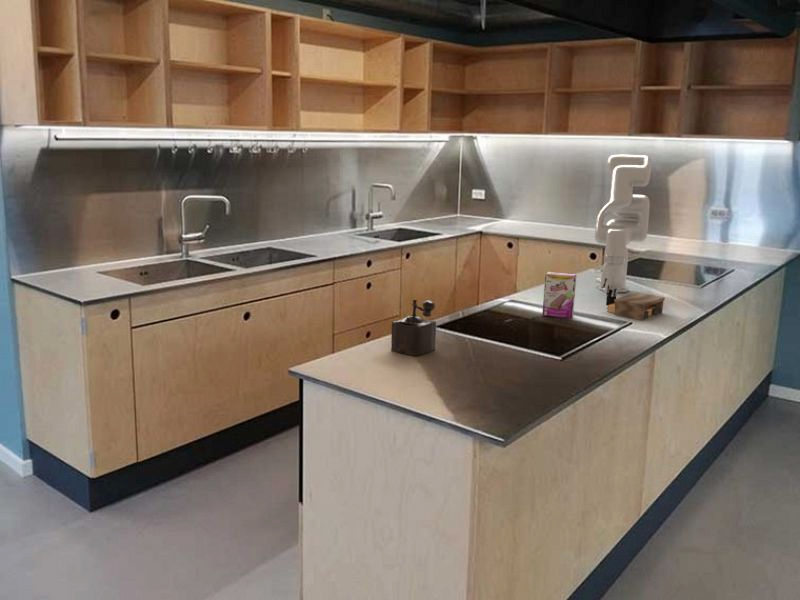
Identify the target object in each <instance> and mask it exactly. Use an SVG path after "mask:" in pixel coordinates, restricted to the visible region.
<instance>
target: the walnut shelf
mask: <svg viewBox="0 0 800 600" xmlns="http://www.w3.org/2000/svg"><path fill="white" fill-rule="evenodd" d="M665 299H666V297H664V296H659V295H653V294H649V293H648V294H647V293H641V292H635V293H634V292H633V293H630V294H628V295H627V294H626V295H624V296H621V297H618V298H617V297H616V299H614V302H615V311H614V313H613V314H614V315H615V316H619V317H623V318H630V319H634V320H637V321H638V320H639V321H644V320H645V319H648V318H649V316H648V314H649V311H645V307H646V306H654V307H656V308H653V309H652V315H651V316H656V315H658V314H660V315H661V314H663V308H664V301H665Z"/></svg>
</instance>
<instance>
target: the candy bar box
mask: <svg viewBox="0 0 800 600" xmlns="http://www.w3.org/2000/svg"><path fill="white" fill-rule="evenodd" d="M544 277H545V278H544V288H543V300H542V301H543V303H542V317H551V318H558V319H559V318H560V319H569V320H570V319H571V320H572V318H573V317H574V310H575V299H576V286H577V285H576V284H577V273H576V274H574V273H564V272H553V271H547V272H546V273H545V276H544Z"/></svg>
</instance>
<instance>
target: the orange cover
mask: <svg viewBox="0 0 800 600" xmlns="http://www.w3.org/2000/svg"><path fill="white" fill-rule="evenodd" d="M653 308H656V307H654V306H646V307H645V311H649V314H648V317H650V316H653V315H652V309H653ZM614 311H615V303H614V304H611V305H608V306H607V312H608V313H612V314H614Z"/></svg>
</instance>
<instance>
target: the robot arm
mask: <svg viewBox="0 0 800 600" xmlns="http://www.w3.org/2000/svg"><path fill="white" fill-rule="evenodd" d="M606 164H607V165H606V166H607V170H608V172H609V176H610V178H611V183H610V192H609V200H608V202H607V203H606V204H605V205H604V206H603V207H602V208H601V209H600V211H599V212H598V214H597V216H596V221H595V229H594V240H595V242H596V243H598V244H599V245H605V251H604V252H605V253H604V263H603V267H602V273H601V278H600V277H597V278H596V279H595V283H597V284H600V285H598V286H599V288H598V289H599V290H600V291H603V293H605V294H606V295H605V296H606V300H605V301H606V303H605V305H606V306H607V307H608V305H611V304H614V303H615V302H614V299H617V296H618V293H627V292H629V290H630V289H629V287H628V286H626V281H627V271H628V259H629V250H628V248H627V245H629V244H630V242H635V243H636V242H637V243H638V242H639V243H641V242H645V240H646V239H647V237H648V230H649V219H650V209H651V207H650V206H651V203H650V198H649V197H648V196H647V195H645V194H636V193H633V190H634V187H642V188H643V187H646V186H648V184H649V183H650V180H651V179H650V178H651V173H652V172H651V169H652V159H651V156H649V155H646V154H625V153H624V154H623V153H622V154H612V155H610V156H609V157H608V158H607V163H606ZM611 213H612V215H614V216H618V217H633V218H634V217H635V218H637V219H629V218H612V219H608V221H607V222H606V223H605V224H604V220H605V218H607V216H609V215H610V214H611Z"/></svg>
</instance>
